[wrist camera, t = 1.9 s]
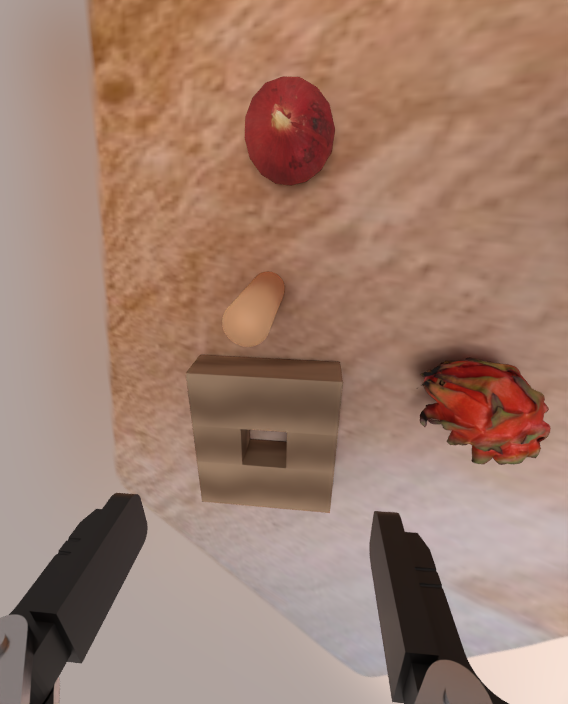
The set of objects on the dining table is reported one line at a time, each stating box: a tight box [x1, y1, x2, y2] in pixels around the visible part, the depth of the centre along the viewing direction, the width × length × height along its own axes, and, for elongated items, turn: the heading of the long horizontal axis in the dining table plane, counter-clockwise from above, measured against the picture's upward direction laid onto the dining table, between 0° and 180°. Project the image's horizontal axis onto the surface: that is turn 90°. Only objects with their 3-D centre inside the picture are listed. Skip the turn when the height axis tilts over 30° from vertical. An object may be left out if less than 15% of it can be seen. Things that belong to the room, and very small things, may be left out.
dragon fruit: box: [418, 358, 550, 465], centre depth 28 cm, size 8×8×12 cm
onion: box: [245, 77, 335, 185], centre depth 21 cm, size 6×6×8 cm
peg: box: [222, 272, 285, 347], centre depth 24 cm, size 3×3×10 cm
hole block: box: [186, 355, 343, 513], centre depth 33 cm, size 16×14×4 cm
